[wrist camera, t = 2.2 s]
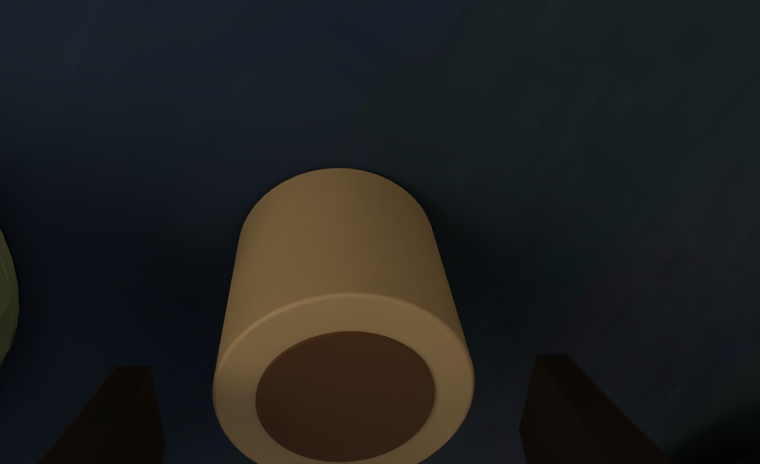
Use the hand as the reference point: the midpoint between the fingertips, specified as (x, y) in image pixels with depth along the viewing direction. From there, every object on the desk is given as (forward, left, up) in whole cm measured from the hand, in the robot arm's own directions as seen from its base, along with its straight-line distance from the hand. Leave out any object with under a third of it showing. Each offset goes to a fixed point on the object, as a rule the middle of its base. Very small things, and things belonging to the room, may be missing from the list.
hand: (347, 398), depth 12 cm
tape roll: (0, 0, -5) cm, 5 cm away
